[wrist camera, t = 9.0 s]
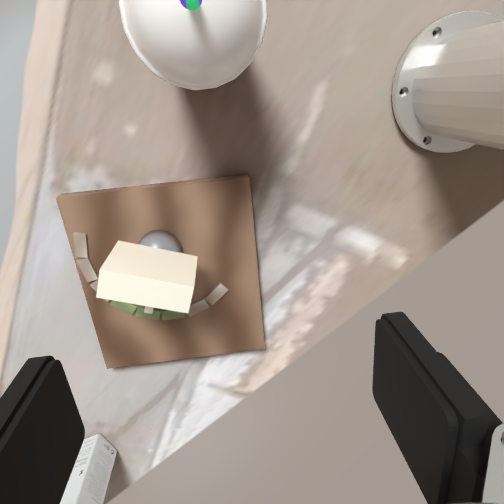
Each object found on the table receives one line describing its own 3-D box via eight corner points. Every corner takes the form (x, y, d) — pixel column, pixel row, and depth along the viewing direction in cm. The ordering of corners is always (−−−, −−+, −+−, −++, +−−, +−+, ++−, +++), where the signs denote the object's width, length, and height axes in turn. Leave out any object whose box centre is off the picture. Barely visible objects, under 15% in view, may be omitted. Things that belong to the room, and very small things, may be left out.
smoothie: (165, 94, 36) (112, 99, 18) (145, -11, 33) (55, -140, 14) (253, 84, 36) (291, 78, 18) (242, -21, 33) (276, -162, 15)
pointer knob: (126, 222, 38) (100, 259, 30) (200, 237, 40) (196, 277, 31) (114, 303, 42) (88, 357, 33) (183, 315, 43) (175, 369, 35)
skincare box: (99, 431, 51) (66, 525, 40) (119, 450, 53) (94, 547, 42) (61, 449, 52) (19, 548, 41) (83, 468, 54) (48, 568, 42)
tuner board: (248, 174, 39) (249, 177, 38) (263, 341, 48) (265, 350, 46) (61, 193, 39) (54, 198, 37) (110, 360, 47) (106, 370, 45)
